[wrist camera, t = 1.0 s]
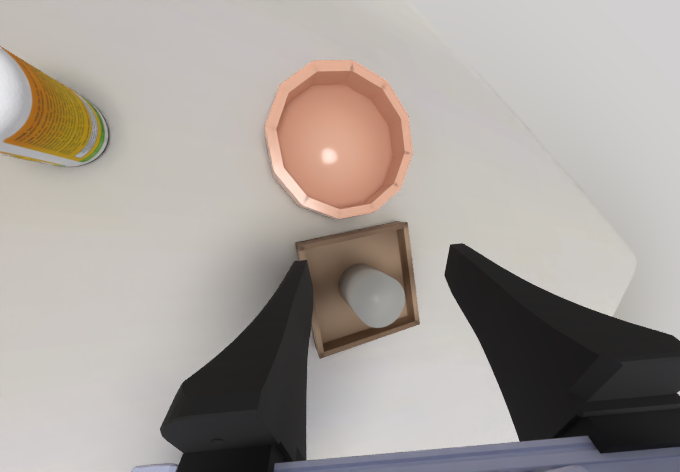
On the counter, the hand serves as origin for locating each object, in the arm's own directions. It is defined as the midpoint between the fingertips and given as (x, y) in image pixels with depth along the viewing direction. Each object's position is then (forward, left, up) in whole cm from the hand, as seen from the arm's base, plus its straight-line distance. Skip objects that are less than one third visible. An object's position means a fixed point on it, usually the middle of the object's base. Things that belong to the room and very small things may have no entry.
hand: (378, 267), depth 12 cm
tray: (-5, -3, -12) cm, 13 cm away
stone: (-5, -3, -11) cm, 13 cm away
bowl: (+8, -3, -12) cm, 15 cm away
